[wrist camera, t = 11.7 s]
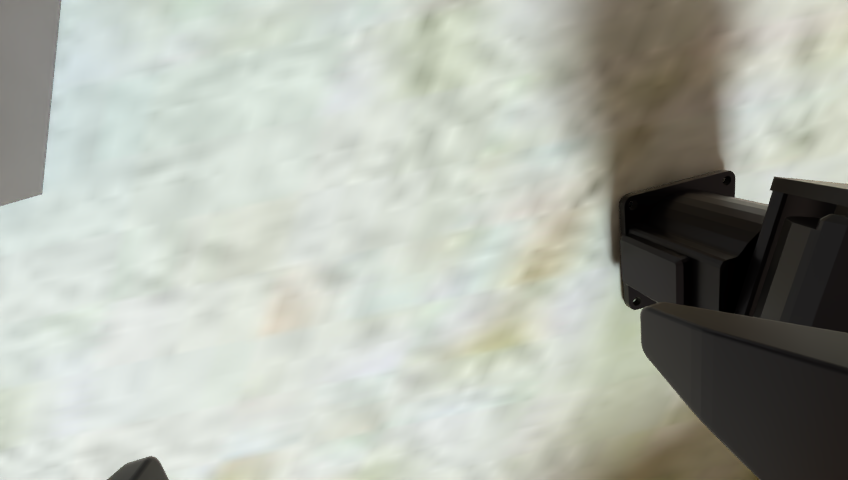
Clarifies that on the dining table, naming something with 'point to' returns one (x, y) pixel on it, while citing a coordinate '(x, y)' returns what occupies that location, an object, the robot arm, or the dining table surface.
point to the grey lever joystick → (25, 93)
